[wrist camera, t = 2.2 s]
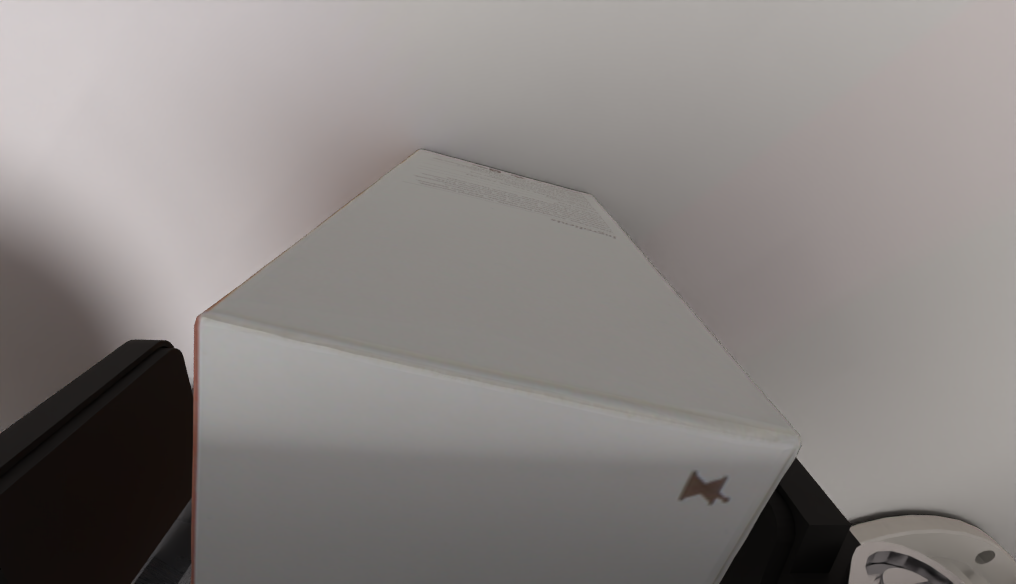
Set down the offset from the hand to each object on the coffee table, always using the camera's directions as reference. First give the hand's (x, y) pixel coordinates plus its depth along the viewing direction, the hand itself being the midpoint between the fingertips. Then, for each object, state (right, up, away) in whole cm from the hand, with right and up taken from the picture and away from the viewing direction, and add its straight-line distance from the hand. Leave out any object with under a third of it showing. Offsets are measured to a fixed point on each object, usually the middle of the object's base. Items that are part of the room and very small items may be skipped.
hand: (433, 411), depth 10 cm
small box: (0, +3, +9) cm, 9 cm away
